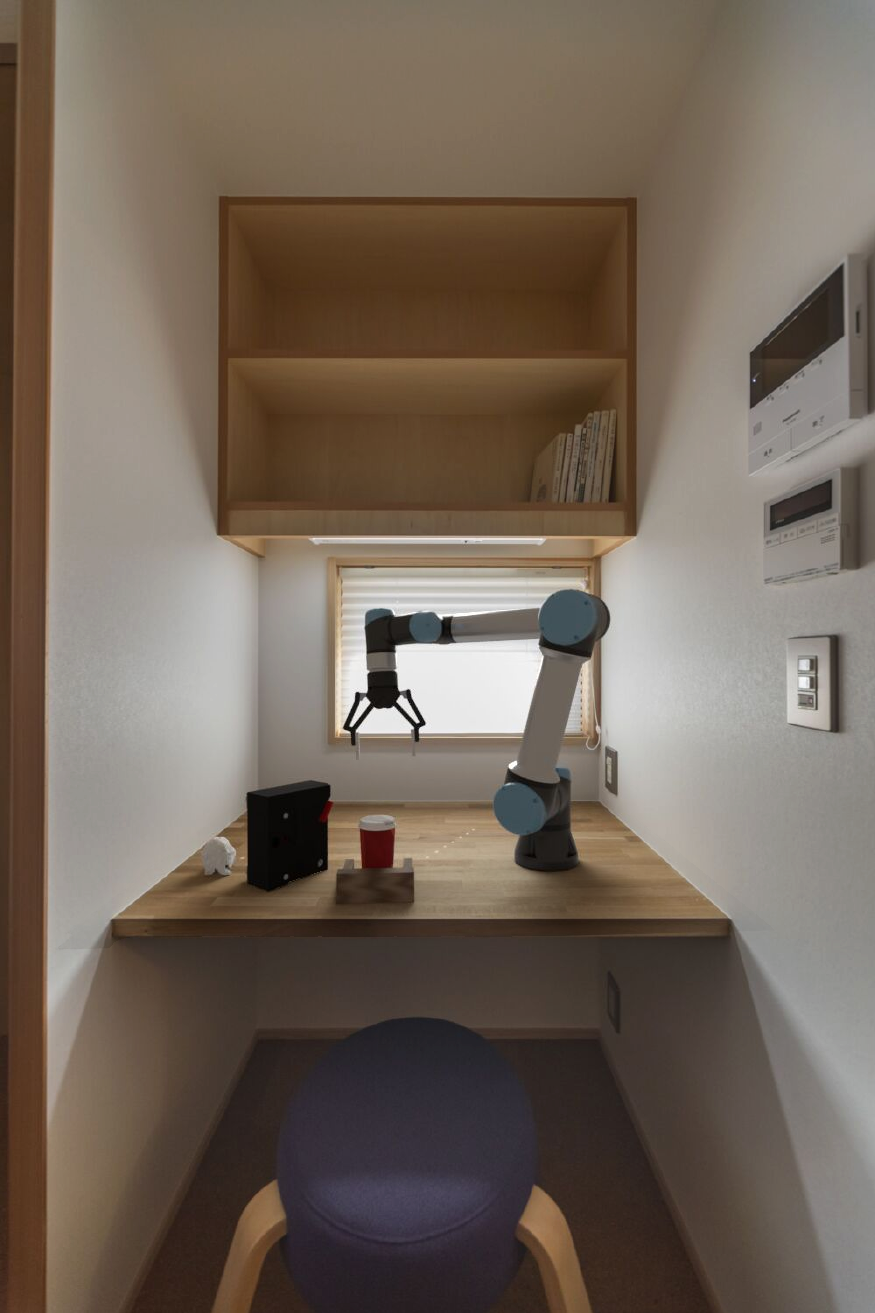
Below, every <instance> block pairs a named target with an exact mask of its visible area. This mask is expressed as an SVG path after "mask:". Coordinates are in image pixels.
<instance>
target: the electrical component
mask: <svg viewBox="0 0 875 1313" xmlns="http://www.w3.org/2000/svg"><path fill="white" fill-rule="evenodd" d="M331 788H332V787H331V784H329V783H328V782H324V781H317V780H314V779H309V780H303V781H299V782H293V783H289V784H283V785H278V786H272V787H266V788H262V789H256V790H251V791H247V792H246V795H245V802H246V811H247V816H246V819H247V822H246V823H247V824H246V826H247V827H246V829H247V832H246V833H247V834H246V835H247V836H246V839H247V840H246V841H247V842H246V843H247V845H246V848H247V852H246V854H247V856H246V858H247V859H246V860H247V863H246V864H247V866H246V869H245V875H246V883H247V885H248V886H251V885H252V886H251V887H253V886H255V887H254V888H256V887H257V888H256V889H259V890H261V889H262V891H264V890H265V892H267V893H269V891H270V892H272V891H275V890H277V889H276V888H278V887H280V888H282V887H281V886H283V887H285V886H284V885H286V886H287V885H289V883H291V882H290V881H292V882H294V881H293V880H295V881H297V880H296V879H298V878H301V879H303V878H307V877H309V875H310V876H312V875H311V874H313V875H315V874H314V873H316V874H318V873H317V872H319V873H321V872H320V871H322V872H325V871H327V870H329V815H330V812H331V809H332V807H333V804H334V802H333V801H331V800H330V797H331V795H332V794H331V793H332V792H331ZM306 876H307V877H306ZM298 880H299V879H298ZM274 889H275V890H274ZM278 889H279V888H278Z"/></svg>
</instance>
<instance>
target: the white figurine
mask: <svg viewBox="0 0 875 1313" xmlns="http://www.w3.org/2000/svg"><path fill="white" fill-rule="evenodd" d="M200 855H201V863H202V864H203V867H204V875H205V876H212V875H213V874H214V873H215V871H217V872H218V874H220V875H222V876H227V875H228V876H230V875H231V874H232V871H231V870H229V869H227V868H226V866H228V868H232V866H233V865H235V862H237V860H238V858H237V857H236V855H237V851H236V849H235V848H234V847H233V846H232V844H231V843H230V841H229V840H228V839H227V838H226V837H224V836H220V837H219V836H214V837H212V838H211V839H209V840H208V841H207V842H206V843H205V844H204V846H203V849H202V850H201V852H200ZM228 876H227V877H228Z"/></svg>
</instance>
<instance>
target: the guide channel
mask: <svg viewBox="0 0 875 1313" xmlns="http://www.w3.org/2000/svg"><path fill="white" fill-rule="evenodd" d="M402 859H403V867H393V868H362V867H361V868H360V867H359V868H355V859H354V858H350V859H348V858H347V859H345V860H344V863H343V868H337V871H336V874H335V876H336V877H335V878H336V879H335V880H336V884H335V885H336V889H335V890H336V893H335V894H336V899H335V900H336V902H335V903H336V904H339V905H340V904H341V905H342V904H344V905H345V904H349V905H350V904H351V905H352V904H380V903H381V904H385V903H387V904H388V903H390V904H391V903H393V904H394V903H414V902H415V869H414V867H413V857H403V858H402ZM336 904H335V905H336Z"/></svg>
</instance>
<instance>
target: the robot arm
mask: <svg viewBox="0 0 875 1313" xmlns="http://www.w3.org/2000/svg"><path fill="white" fill-rule="evenodd" d="M610 625H611V612H610V610H609V607H608V605H607V604H606V603H605V601H604V600H603V599H601V598H600V597H599V596H596V595H593V594H592V593H588V592H585V591H582V590H580V589H573V588H568V589H562V590H561V589H560V590H558V591H556V592H553V593H552V594H551V595H549V596H548V597H547V598H546V599H545V600H544V601H543V603H542V604H541V606H540V607H531V608H530V607H529V608H518V609H517V608H516V609H515V608H514V609H506V610H505V609H504V610H501V609H500V610H492V611H491V610H490V611H488V610H487V611H478V612H476V611H475V612H465V613H451V614H450V613H449V614H437V613H436V612H435V611H433V610H418V611H416V612H415V611H414V612H409V613H403V614H395V611H394V609H392V608H389V607H379V608H370V609H368V610H367V611H366V612H365V614H364V627H363V628H364V634H365V650H366V653H365V656H366V657H365V658H366V659H365V660H366V661H365V662H366V670H367V671H368V672H367V674H366V681H367V683H366V684H367V691H366V692H361V691H355V693H354V702H353V704H352V706H351V708H350V710H349V712H348V715H347V717H346V719H345V722H344V723H343V726H342V729H343V730H344V731H347V732H349V734H350V745H351V746H353V747H355V757H356V760H361V750H360V749H361V747H360V732H359V731H357V730H358V729H359V727H360V726H361V725H362V723H364V721H365V719H366V718H367V717H368V716H369V715H370V713H371V712H372V711H373V710H374V708H375V709H376V710H382V709H386V710H387V709H388V710H389V709H392V708H393V707H394V709H396V710H397V712H399V713H400V715H402V717H403V718H404V720H406V721H407V722H408V723H409V724H410V725H411V726H412V729H410V734H411V735H410V736H411V741H410V742H411V756H412V757H416V743H419V742H420V729H421V728H422V727H425V726H426V725H427V724H426V723H427V722H426V720H425V719H424V717H423V715H422V713H421V711H420V710H419V708H418V706H417V705H416V703H415V701H414V699H413V697H412V691H411V689H410V688H407V689H405V690H400V689H399V679H398V676H399V675H398V672H397V671H396V670H397V669H398V660H397V647H398V646H403V645H414V644H415V645H416V644H419V645H420V644H421V645H422V644H423V645H426V644H427V645H432V644H433V645H434V644H435V645H444V646H445V645H450V644H451V645H452V644H463V643H464V644H465V643H466V644H467V643H480V642H481V643H482V642H483V643H484V642H505V641H506V642H507V641H520V640H521V641H522V640H523V641H524V640H526V641H527V640H539V641H538V644H537V647H538V649H539V651H540V652H541V655H542V657H541V661H540V665H539V668H538V674H537V676H536V677H537V678H536V681H535V686H534V688H533V689H534V690H533V692H532V693H533V694H532V697H531V701H530V705H529V709H528V710H529V711H528V714H527V718H526V721H525V726H524V730H523V735H522V738H521V742H520V745H519V746H520V747H519V751H518V754H517V758H516V760H514V761H512V762H510V763H509V764H508V766H507V770H506V773H505V778H504V782H503V784H502V785H501V786H500V787H499V788H498V789H497V791H496V792H495V794H494V795H493V800H492V810H493V814H494V817H495V818H496V819H497V821H498V823H499V825H500V826H501V827H502V828H503V829H504V830H505V831H507V832H509V833H511V834H513V835H517V836H518V838H517V840H516V841H517V842H516V844H515V848H514V856H513V857H514V862H515V863H516V864H518V865H520V866H522V867H524V868H527V869H532V870H537V871H548V872H549V871H551V872H552V871H553V872H554V871H563V870H569V869H573V868H575V867H576V866H578V864H579V851H578V849H577V846H576V843H575V839H574V836H573V833H572V829H571V827H572V825H571V822H572V821H571V819H572V818H571V815H572V813H571V812H572V809H571V808H572V806H571V805H572V803H571V800H572V798H571V797H572V794H571V791H572V790H571V789H572V788H571V787H572V779H571V771H570V769H569V768H568V767H566V766H559V765H557V764H558V760H559V756H560V753H561V749H562V746H563V740H564V737H565V732H566V728H567V725H568V721H569V716H570V714H571V710H572V705H573V701H574V697H575V694H576V689H577V686H578V682H579V677H580V674H581V670H582V666H583V664H585V663H587V662H589V661H590V660H591V659H592V656H593V653H594V649H595V645H596V643H597V642H598V641H600V640H602V638H604V636H605V635H606V634H607V632H608V630H609V628H610ZM400 696H402V697H403V699H405V700H406V701H407V703H408V704H409V706H410V708H411V710H412V712H413V713H414V715H415V717H416V718H417V720H418V721H419V722H416V721H415V720H414V718H412V716H411V715H410V714H409V713H407V711H406V710H405V709H404V708H403V707H402V706H401V705H400V704H399V702H397V701H398V700H399V698H400ZM365 698H366V699H367V700H368V701H369V704H368V705H367V707H366V708H365V709H364V711H362V714H361V715H360V716H359V717H358V719H356V722H355V723H354V724H353V725H352V726H351V724H352V721H353V719H354V716H355V714H356V713H357V710H358V707H359V706H360V703H361V702H363V700H364V699H365Z"/></svg>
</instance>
